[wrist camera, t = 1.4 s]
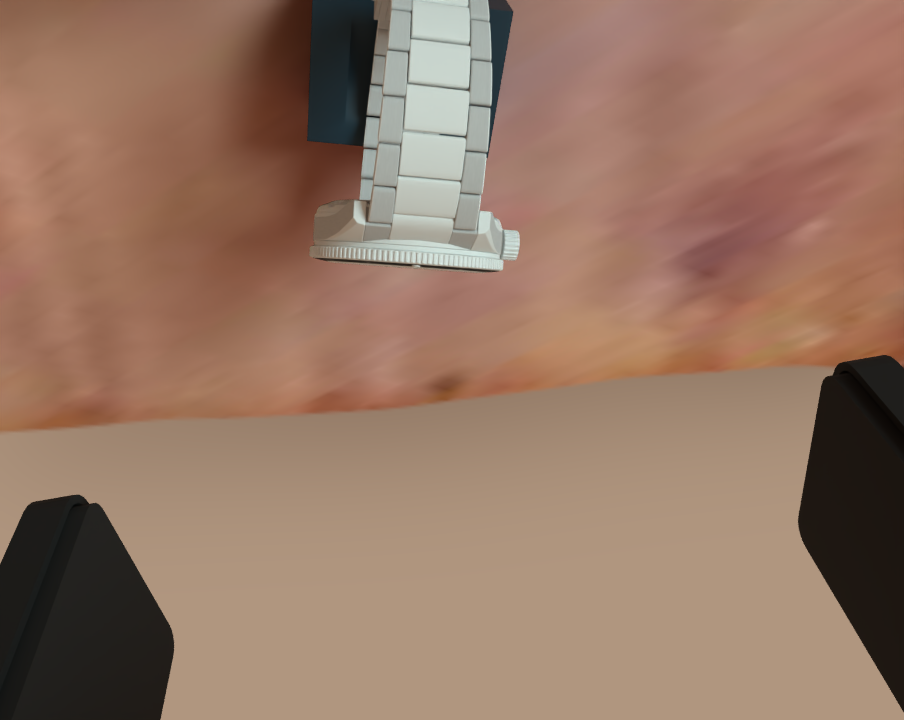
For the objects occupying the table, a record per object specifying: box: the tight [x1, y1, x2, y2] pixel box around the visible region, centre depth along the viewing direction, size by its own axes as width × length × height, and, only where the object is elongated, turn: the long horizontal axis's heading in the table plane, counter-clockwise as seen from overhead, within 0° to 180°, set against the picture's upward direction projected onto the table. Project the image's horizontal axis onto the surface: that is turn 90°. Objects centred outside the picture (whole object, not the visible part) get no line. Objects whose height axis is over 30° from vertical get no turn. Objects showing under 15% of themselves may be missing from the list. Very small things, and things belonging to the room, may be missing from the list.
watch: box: [307, 0, 520, 273], centre depth 21 cm, size 6×8×11 cm
